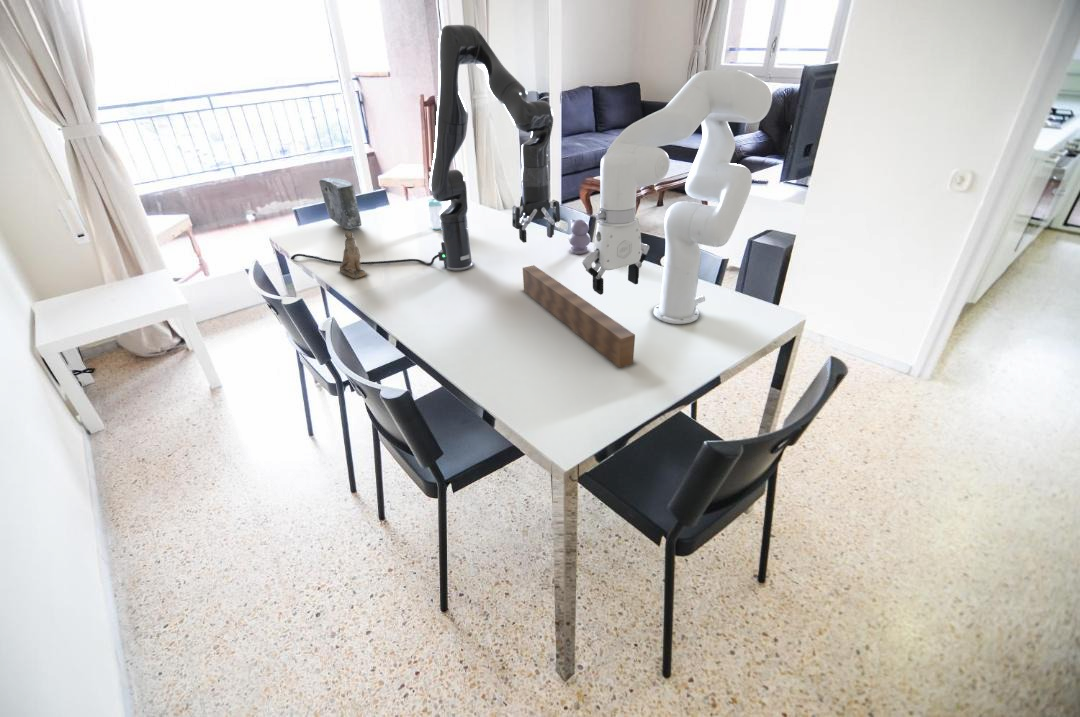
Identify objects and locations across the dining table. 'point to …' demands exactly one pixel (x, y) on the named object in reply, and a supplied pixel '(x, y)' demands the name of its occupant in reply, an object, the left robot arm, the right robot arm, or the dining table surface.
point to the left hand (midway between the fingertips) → (537, 239)
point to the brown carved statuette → (351, 258)
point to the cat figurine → (579, 236)
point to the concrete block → (341, 202)
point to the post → (581, 316)
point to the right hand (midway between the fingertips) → (615, 287)
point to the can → (435, 213)
